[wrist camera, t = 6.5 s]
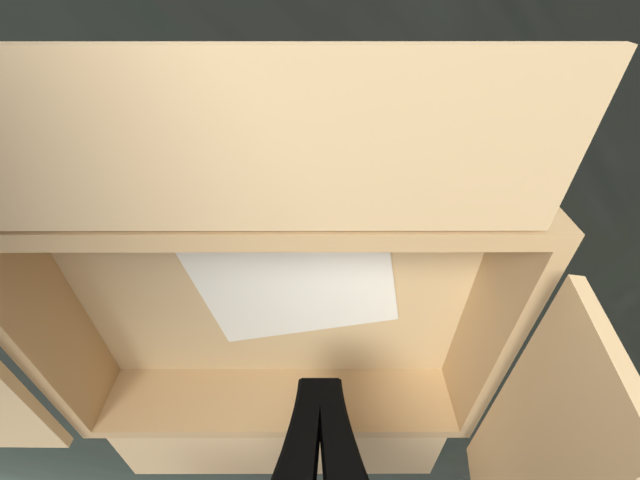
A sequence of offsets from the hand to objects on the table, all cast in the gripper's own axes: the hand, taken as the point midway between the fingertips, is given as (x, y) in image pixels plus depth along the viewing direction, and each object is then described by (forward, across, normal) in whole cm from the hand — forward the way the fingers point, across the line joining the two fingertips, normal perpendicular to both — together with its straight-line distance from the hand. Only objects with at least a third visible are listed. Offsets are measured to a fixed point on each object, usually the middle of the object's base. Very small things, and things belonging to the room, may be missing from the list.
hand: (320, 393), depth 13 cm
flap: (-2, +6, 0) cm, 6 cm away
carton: (+5, -2, 0) cm, 5 cm away
